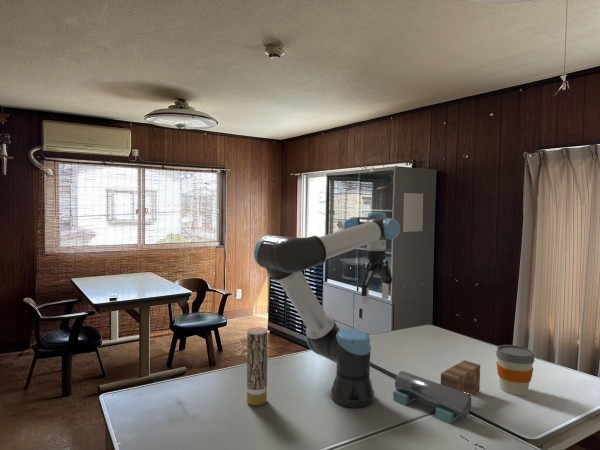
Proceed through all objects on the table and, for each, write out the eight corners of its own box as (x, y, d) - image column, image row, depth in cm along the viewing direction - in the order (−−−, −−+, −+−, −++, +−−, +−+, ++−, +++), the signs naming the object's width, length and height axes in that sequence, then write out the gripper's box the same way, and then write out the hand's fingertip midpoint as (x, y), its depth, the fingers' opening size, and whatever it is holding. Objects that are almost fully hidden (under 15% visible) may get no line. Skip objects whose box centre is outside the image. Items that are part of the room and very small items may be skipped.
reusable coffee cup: (487, 385, 155) (488, 346, 154) (512, 380, 159) (513, 343, 159) (515, 400, 143) (516, 358, 143) (541, 394, 148) (542, 354, 147)
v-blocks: (450, 423, 127) (450, 414, 127) (393, 399, 142) (393, 391, 142) (463, 414, 133) (463, 405, 133) (407, 392, 148) (407, 384, 148)
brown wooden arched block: (456, 407, 137) (457, 378, 137) (440, 401, 142) (440, 373, 141) (479, 391, 150) (480, 364, 149) (463, 386, 154) (464, 360, 154)
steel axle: (470, 413, 130) (471, 391, 130) (460, 419, 125) (462, 397, 125) (405, 388, 148) (406, 369, 147) (394, 393, 143) (395, 373, 143)
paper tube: (248, 407, 135) (248, 333, 134) (245, 398, 142) (246, 327, 141) (268, 405, 137) (269, 332, 136) (264, 396, 144) (265, 326, 143)
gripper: (364, 252, 155) (363, 307, 156) (401, 248, 172) (400, 298, 173) (349, 251, 160) (348, 304, 161) (386, 247, 177) (385, 295, 178)
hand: (375, 301), depth 167 cm, fingers open, 13 cm apart
